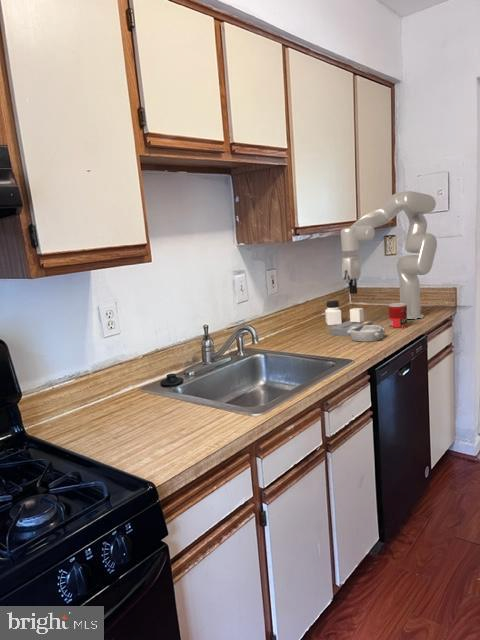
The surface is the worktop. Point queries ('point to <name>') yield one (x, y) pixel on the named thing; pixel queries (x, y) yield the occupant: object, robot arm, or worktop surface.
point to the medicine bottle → (333, 313)
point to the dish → (367, 333)
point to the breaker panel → (348, 327)
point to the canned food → (398, 315)
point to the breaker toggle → (356, 315)
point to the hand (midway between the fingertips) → (353, 293)
